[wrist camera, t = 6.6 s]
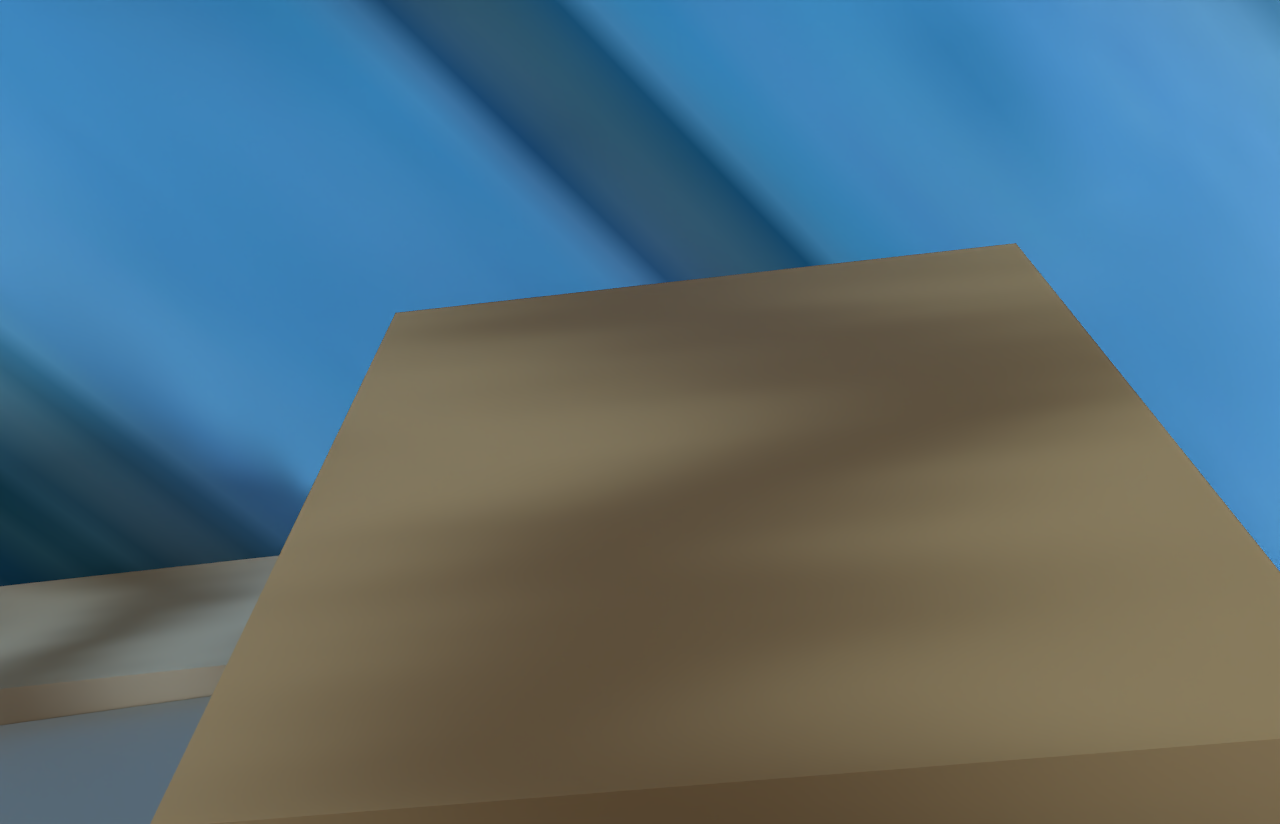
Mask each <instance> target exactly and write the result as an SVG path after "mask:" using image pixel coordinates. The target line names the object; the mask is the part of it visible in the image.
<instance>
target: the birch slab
mask: <svg viewBox="0 0 1280 824" xmlns="http://www.w3.org/2000/svg"><path fill="white" fill-rule="evenodd" d="M278 557H279V556H270V557H261V558H252V559H243V560H233V561H224V562H215V563H206V564H197V565H188V566H179V567H170V568H161V569H152V570H143V571H134V572H125V573H116V574H107V575H98V576H89V577H80V578H71V579H62V580H53V581H44V582H35V583H26V584H17V585H8V586H0V725H7V724H14V723H21V722H28V721H36V720H43V719H50V718H57V717H64V716H72V715H79V714H86V713H93V712H100V711H107V710H115V709H122V708H129V707H136V706H143V705H150V704H158V703H165V702H172V701H179V700H186V699H194V698H201V697H208V696H212V694H213V692H214V690H215V688H216V686H217V684H218V682H219V680H220V678H221V675H222V673H223V671H224V669H225V667H226V665H227V663H228V661H229V659H230V657H231V655H232V653H233V650H234V648H235V646H236V644H237V642H238V640H239V638H240V636H241V634H242V632H243V630H244V628H245V625H246V623H247V621H248V619H249V617H250V615H251V613H252V611H253V609H254V607H255V605H256V603H257V601H258V598H259V596H260V594H261V592H262V590H263V588H264V586H265V584H266V582H267V580H268V578H269V576H270V573H271V571H272V569H273V567H274V565H275V563H276V561H277V559H278Z"/></svg>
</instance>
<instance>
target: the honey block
mask: <svg viewBox="0 0 1280 824" xmlns="http://www.w3.org/2000/svg"><path fill="white" fill-rule="evenodd" d="M150 824H1280V571H1279V570H1278V569H1277V568H1276V566H1275V565H1274V564H1273V563H1272V561H1271V560H1270V559H1269V558H1268V557H1267V555H1266V554H1265V553H1264V552H1263V550H1262V549H1261V548H1260V547H1259V545H1258V544H1257V543H1256V542H1255V540H1254V539H1253V538H1252V537H1251V535H1250V534H1249V533H1248V532H1247V530H1246V529H1245V528H1244V527H1243V525H1242V524H1241V523H1240V522H1239V520H1238V519H1237V518H1236V517H1235V515H1234V514H1233V513H1232V512H1231V510H1230V509H1229V508H1228V507H1227V505H1226V504H1225V503H1224V502H1223V500H1222V499H1221V498H1220V497H1219V496H1218V494H1217V493H1216V492H1215V491H1214V489H1213V488H1212V487H1211V486H1210V484H1209V483H1208V482H1207V481H1206V479H1205V478H1204V477H1203V476H1202V474H1201V473H1200V472H1199V471H1198V469H1197V468H1196V467H1195V466H1194V464H1193V463H1192V462H1191V461H1190V459H1189V458H1188V457H1187V456H1186V454H1185V453H1184V452H1183V451H1182V449H1181V448H1180V447H1179V446H1178V444H1177V443H1176V442H1175V441H1174V439H1173V438H1172V437H1171V436H1170V435H1169V433H1168V432H1167V431H1166V430H1165V428H1164V427H1163V426H1162V425H1161V423H1160V422H1159V421H1158V420H1157V418H1156V417H1155V416H1154V415H1153V413H1152V412H1151V411H1150V410H1149V408H1148V407H1147V406H1146V405H1145V403H1144V402H1143V401H1142V400H1141V398H1140V397H1139V396H1138V395H1137V393H1136V392H1135V391H1134V390H1133V388H1132V387H1131V386H1130V385H1129V383H1128V382H1127V381H1126V380H1125V378H1124V377H1123V376H1122V375H1121V374H1120V372H1119V371H1118V370H1117V369H1116V367H1115V366H1114V365H1113V364H1112V362H1111V361H1110V360H1109V359H1108V357H1107V356H1106V355H1105V354H1104V352H1103V351H1102V350H1101V349H1100V347H1099V346H1098V345H1097V344H1096V342H1095V341H1094V340H1093V339H1092V337H1091V336H1090V335H1089V334H1088V332H1087V331H1086V330H1085V329H1084V327H1083V326H1082V325H1081V324H1080V322H1079V321H1078V320H1077V319H1076V318H1075V316H1074V315H1073V314H1072V313H1071V311H1070V310H1069V309H1068V308H1067V306H1066V305H1065V304H1064V303H1063V301H1062V300H1061V299H1060V298H1059V296H1058V295H1057V294H1056V293H1055V291H1054V290H1053V289H1052V288H1051V286H1050V285H1049V284H1048V283H1047V281H1046V280H1045V279H1044V278H1043V276H1042V275H1041V274H1040V273H1039V271H1038V270H1037V269H1036V268H1035V266H1034V265H1033V264H1032V263H1031V261H1030V260H1029V259H1028V258H1027V257H1026V255H1025V254H1024V253H1023V252H1022V250H1021V249H1020V248H1019V247H1018V245H1017V244H1016V243H1014V244H1005V245H996V246H988V247H979V248H970V249H961V250H952V251H943V252H934V253H925V254H916V255H907V256H898V257H890V258H881V259H872V260H863V261H854V262H845V263H836V264H827V265H818V266H809V267H800V268H792V269H783V270H774V271H765V272H756V273H747V274H738V275H729V276H720V277H711V278H702V279H694V280H685V281H676V282H667V283H658V284H649V285H640V286H631V287H622V288H613V289H605V290H596V291H587V292H578V293H569V294H560V295H551V296H542V297H533V298H524V299H515V300H507V301H498V302H489V303H480V304H471V305H462V306H453V307H444V308H435V309H426V310H417V311H409V312H400V313H395V315H394V317H393V319H392V322H391V324H390V326H389V328H388V330H387V332H386V334H385V336H384V338H383V340H382V342H381V344H380V347H379V349H378V351H377V353H376V355H375V357H374V359H373V361H372V363H371V365H370V367H369V369H368V372H367V374H366V376H365V378H364V380H363V382H362V384H361V386H360V388H359V390H358V392H357V394H356V396H355V399H354V401H353V403H352V405H351V407H350V409H349V411H348V413H347V415H346V417H345V419H344V421H343V424H342V426H341V428H340V430H339V432H338V434H337V436H336V438H335V440H334V442H333V444H332V446H331V449H330V451H329V453H328V455H327V457H326V459H325V461H324V463H323V465H322V467H321V469H320V471H319V474H318V476H317V478H316V480H315V482H314V484H313V486H312V488H311V490H310V492H309V494H308V496H307V498H306V501H305V503H304V505H303V507H302V509H301V511H300V513H299V515H298V517H297V519H296V521H295V523H294V526H293V528H292V530H291V532H290V534H289V536H288V538H287V540H286V542H285V544H284V546H283V548H282V551H281V553H280V555H279V557H278V559H277V561H276V563H275V565H274V567H273V569H272V571H271V573H270V576H269V578H268V580H267V582H266V584H265V586H264V588H263V590H262V592H261V594H260V596H259V598H258V601H257V603H256V605H255V607H254V609H253V611H252V613H251V615H250V617H249V619H248V621H247V623H246V625H245V628H244V630H243V632H242V634H241V636H240V638H239V640H238V642H237V644H236V646H235V648H234V650H233V653H232V655H231V657H230V659H229V661H228V663H227V665H226V667H225V669H224V671H223V673H222V675H221V678H220V680H219V682H218V684H217V686H216V688H215V690H214V692H213V694H212V696H211V698H210V700H209V703H208V705H207V707H206V709H205V711H204V713H203V715H202V717H201V719H200V721H199V723H198V725H197V727H196V730H195V732H194V734H193V736H192V738H191V740H190V742H189V744H188V746H187V748H186V750H185V752H184V755H183V757H182V759H181V761H180V763H179V765H178V767H177V769H176V771H175V773H174V775H173V777H172V780H171V782H170V784H169V786H168V788H167V790H166V792H165V794H164V796H163V798H162V800H161V802H160V805H159V807H158V809H157V811H156V813H155V815H154V817H153V819H152V821H151V823H150Z"/></svg>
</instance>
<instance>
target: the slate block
mask: <svg viewBox="0 0 1280 824" xmlns="http://www.w3.org/2000/svg"><path fill="white" fill-rule="evenodd" d="M210 698H211V696H208V697H201V698H194V699H186V700H179V701H172V702H165V703H158V704H150V705H143V706H136V707H129V708H122V709H115V710H107V711H100V712H93V713H86V714H79V715H72V716H64V717H57V718H50V719H43V720H36V721H28V722H21V723H14V724H7V725H0V824H150V823H151V821H152V819H153V817H154V815H155V813H156V811H157V809H158V807H159V805H160V802H161V800H162V798H163V796H164V794H165V792H166V790H167V788H168V786H169V784H170V782H171V780H172V777H173V775H174V773H175V771H176V769H177V767H178V765H179V763H180V761H181V759H182V757H183V755H184V752H185V750H186V748H187V746H188V744H189V742H190V740H191V738H192V736H193V734H194V732H195V730H196V727H197V725H198V723H199V721H200V719H201V717H202V715H203V713H204V711H205V709H206V707H207V705H208V703H209V700H210Z"/></svg>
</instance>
